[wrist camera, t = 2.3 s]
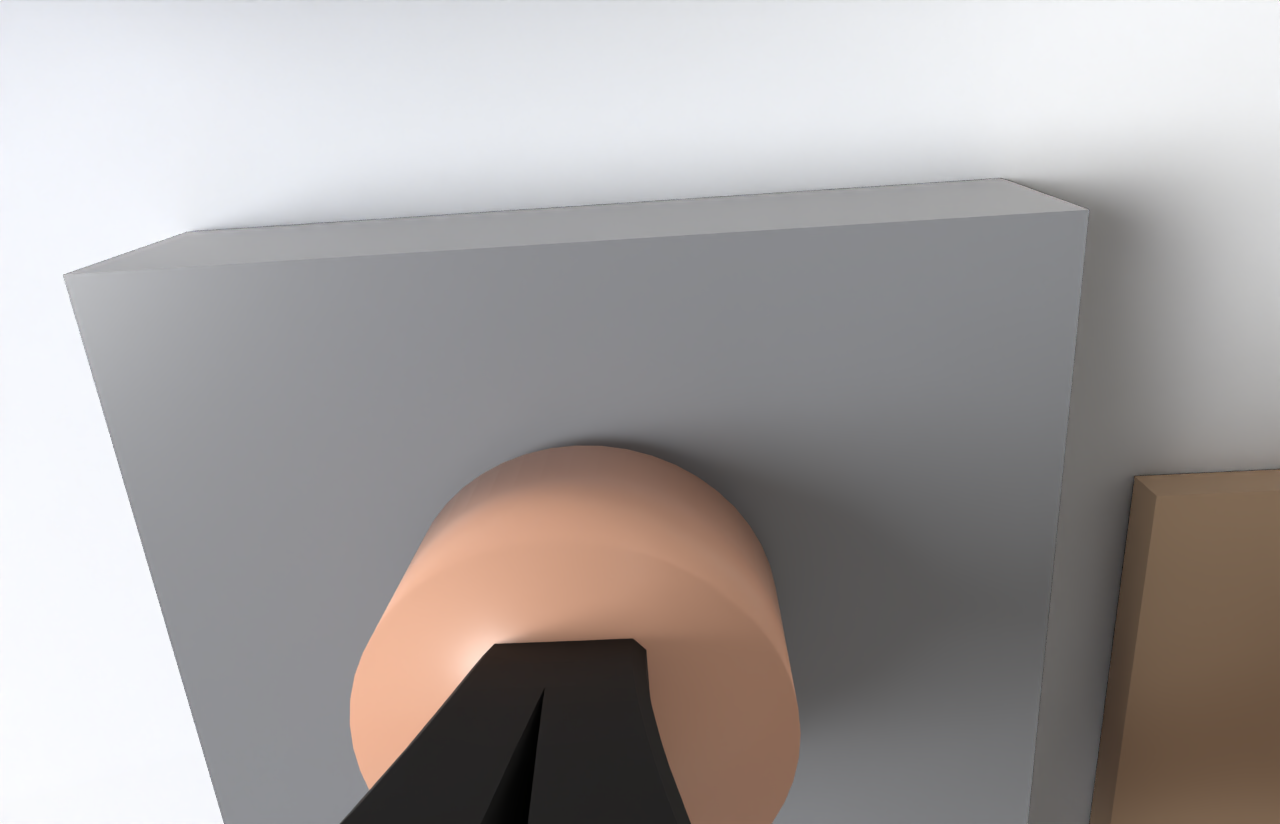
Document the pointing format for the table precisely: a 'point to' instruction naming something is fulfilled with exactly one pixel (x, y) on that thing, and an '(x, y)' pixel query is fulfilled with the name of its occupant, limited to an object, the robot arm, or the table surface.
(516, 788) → the robot arm
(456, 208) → the table surface
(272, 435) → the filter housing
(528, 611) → the plunger
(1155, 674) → the walnut pad
